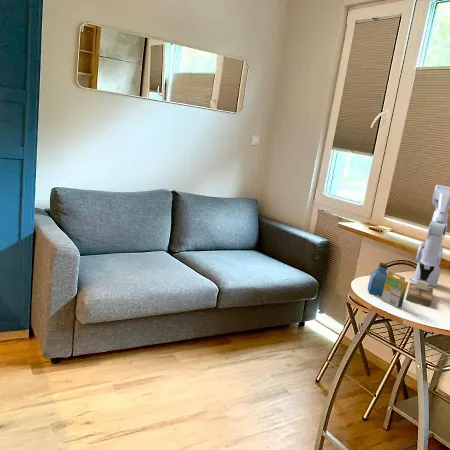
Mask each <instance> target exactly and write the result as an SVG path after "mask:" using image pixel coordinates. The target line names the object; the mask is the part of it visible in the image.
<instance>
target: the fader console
mask: <svg viewBox="0 0 450 450" xmlns="http://www.w3.org/2000/svg"><path fill="white" fill-rule="evenodd" d="M415 286H416V282H411V281H410V282H409V285H408V289H407V292H406V293H407V294H406V295H405V300H406V301H409V302H410V303H411V302H412V303H415V304H418V305H422V306H425V307H429V308H431V305H432V302H433V297H434V296H433V294H434V293H433V292H434V288H432V287H430V286H428V288H427V291H426V290H422V289H419V288H415Z"/></svg>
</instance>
